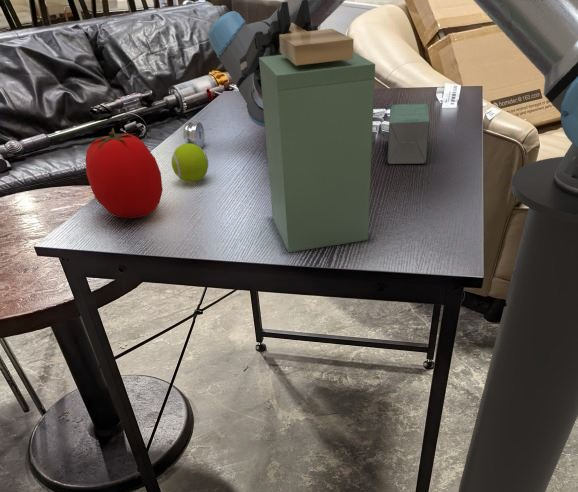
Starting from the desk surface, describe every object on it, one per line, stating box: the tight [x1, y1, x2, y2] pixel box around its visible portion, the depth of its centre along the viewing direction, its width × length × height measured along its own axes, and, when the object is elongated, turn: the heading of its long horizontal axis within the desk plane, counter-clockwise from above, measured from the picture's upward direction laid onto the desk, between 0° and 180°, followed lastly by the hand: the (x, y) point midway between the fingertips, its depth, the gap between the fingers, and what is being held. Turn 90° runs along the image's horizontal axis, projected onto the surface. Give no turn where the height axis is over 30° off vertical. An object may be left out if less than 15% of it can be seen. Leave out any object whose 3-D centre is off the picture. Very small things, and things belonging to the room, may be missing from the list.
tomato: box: [85, 127, 164, 220], centre depth 85 cm, size 12×12×13 cm
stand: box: [259, 51, 376, 253], centre depth 73 cm, size 12×12×22 cm
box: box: [387, 103, 431, 165], centre depth 102 cm, size 7×14×8 cm, turn 171°
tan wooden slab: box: [279, 23, 354, 66], centre depth 69 cm, size 22×7×2 cm, turn 12°
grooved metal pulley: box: [183, 121, 206, 149], centre depth 113 cm, size 5×3×5 cm, turn 166°
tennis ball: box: [171, 143, 209, 183], centre depth 97 cm, size 7×7×7 cm
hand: (296, 12), depth 70 cm, fingers closed on tan wooden slab, 2 cm apart
